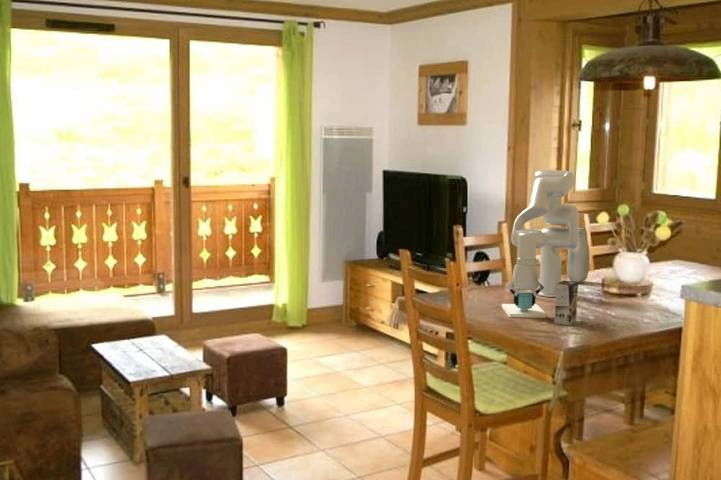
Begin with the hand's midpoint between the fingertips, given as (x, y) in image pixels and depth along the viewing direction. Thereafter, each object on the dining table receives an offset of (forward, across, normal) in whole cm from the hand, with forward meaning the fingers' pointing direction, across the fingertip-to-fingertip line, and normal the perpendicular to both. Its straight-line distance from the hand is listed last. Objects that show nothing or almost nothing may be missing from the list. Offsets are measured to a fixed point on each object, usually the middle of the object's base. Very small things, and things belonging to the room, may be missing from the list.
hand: (524, 304), depth 323 cm
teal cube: (+1, 0, 0) cm, 1 cm away
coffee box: (+4, -14, +12) cm, 19 cm away
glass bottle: (+4, -41, -70) cm, 81 cm away
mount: (+4, 0, -4) cm, 5 cm away
